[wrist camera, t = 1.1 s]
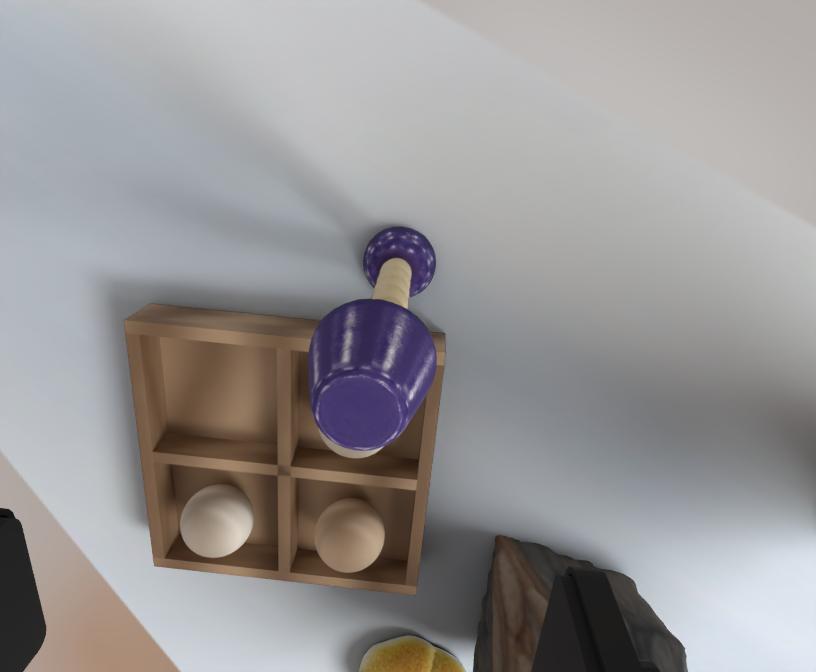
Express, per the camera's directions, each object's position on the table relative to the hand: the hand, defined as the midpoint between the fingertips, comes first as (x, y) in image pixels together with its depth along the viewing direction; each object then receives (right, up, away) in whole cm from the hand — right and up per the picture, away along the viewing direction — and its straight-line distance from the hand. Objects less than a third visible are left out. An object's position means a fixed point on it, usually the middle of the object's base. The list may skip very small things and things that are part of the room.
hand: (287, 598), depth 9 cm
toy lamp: (+2, +9, +22) cm, 24 cm away
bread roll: (+3, -23, +35) cm, 42 cm away
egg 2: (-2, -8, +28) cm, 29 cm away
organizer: (-6, -3, +27) cm, 27 cm away
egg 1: (-10, -7, +28) cm, 30 cm away
